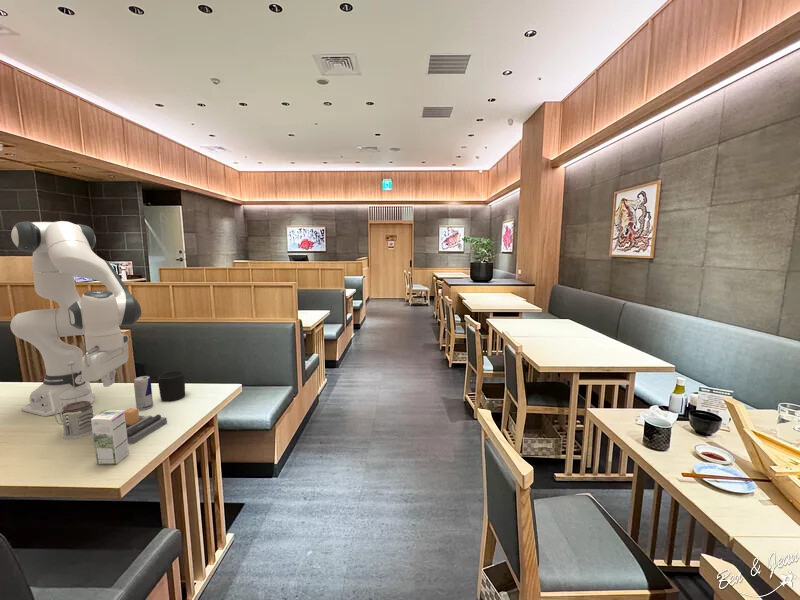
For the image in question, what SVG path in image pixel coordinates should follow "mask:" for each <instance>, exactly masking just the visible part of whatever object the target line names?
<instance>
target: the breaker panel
mask: <svg viewBox="0 0 800 600" xmlns="http://www.w3.org/2000/svg"><path fill="white" fill-rule="evenodd" d="M167 420H168V419H167V417H164V416H163V417H162V416H161V414H160V413H159V414H156V415H154V416H153V415H139V422H137V423H135V424H134V425H132V426H130V427H126V431H127V440H128V444H130V445H131V444H132V445H133V444H136V443H137V442H139V441H141V440H142V439H144V438H145V437H147V436H148V435H150V434H151V433H154V432H155V431H156V430H159V428H162V427H163V426H164V425H166V424H168V421H167Z"/></svg>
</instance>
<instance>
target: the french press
mask: <svg viewBox="0 0 800 600" xmlns="http://www.w3.org/2000/svg"><path fill="white" fill-rule="evenodd" d="M72 365H75V362H73V361H72V362H68V364H67V366H71V370H72ZM72 378H73V371H72ZM73 385H74V379H73ZM91 390H92V389H91ZM91 390H89V389H84V388H76V389H75V386H74V389H72V390H69V391H66V392H64V393H63V394H61V395H60V396H59V397H58V398H59V399H61V400H71V399H75V401H76V398H80V397H83V396H86V395H88V394H89V393H90V392H91ZM90 403H91V402H89V401H80V402H75V403H71V404H68V403H66V404H67V405H66V404H65V405H64V406H63V403H61V404H62V406H63V407H62V409H63V410H64V411H63V412H62V409H61V411H60V413H59V419H60V421H61V423H60V422H59V421H58V420H57V419H58V418H57V414H56V412H57V409H58V407H59V406H60V405H61V404H60V405H59V406H58V407H57V409H56V412H55V414H54V417H55V421H56V423H57V424H59V425H61V426H62V428H63V433H62V434H61V435H60V439H62V440H65V441H66V440H67V441H69V440H77V439H80V438H81V439H82V438H84V437H87V436H90V435H93V431H92V424H91V419H92V418H93V417H94V410H93V409H94V408H93V406H92V403H91V404H90ZM61 412H62V413H61ZM67 413H70V414H67ZM71 413H74V414H71Z"/></svg>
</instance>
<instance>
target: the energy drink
mask: <svg viewBox="0 0 800 600" xmlns="http://www.w3.org/2000/svg"><path fill="white" fill-rule="evenodd" d="M133 388H134V397H135V398H134V399H135V405H136V406H135V409H138V411H144V410H148V409H151V408H152V407H153V406H154V401H153V390H152V380H151V377H150V376H149V375H142V376H139V377H135V378H134V379H133Z"/></svg>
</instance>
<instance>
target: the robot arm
mask: <svg viewBox="0 0 800 600" xmlns="http://www.w3.org/2000/svg"><path fill="white" fill-rule="evenodd" d="M10 235H11V237H10V238H11V240H12V242H13V244H14V246H15V247H16V248H17V249H19V250H20V251H23V252H26V253H27V252H28V253H32V260H31V261H32V263H31V267H32V276H33V277H32V278H33V286H34V292H35V293H36V294H37V295H38V296H39V297H41V298H43V299H46V300H50V301H52V302H53V301H54V302H56V303H57V304H58V306H59V307H58V308H46V309H45V308H44V309H35V310H33V309H32V310H28V311H25V312H19V313H16V314H15V315H14V317H12V319H11V321H10V330H11V332H12V334H13V335H14V336H15V337H16V338H18V339H21V340H22V341H25V342H27V343H29V344H31V345H32V346H34V347H35V348H36V349H37V350H38V351H39V353H40V354H41V357H42V359H43V363H44V368H45V374H42V375H41V378H40V379H42V380H43V381H42V384H40V385H39V386H38V387H37V388H36V389H34V390H33V391H32V392H31V393H30V395H29V403H28V404H25V405H23V407H22V408H21V411H22V412H26V413H30V414H33V415H37V416H38V415H39V416H42V417H50V416H53V415H55V412H56V409H57V407H58V406H59V405H60V404H61V403H63V406H64V405H65V404H66V403H68V404H71V403H75V402H80V401H89V402H91V403H90V405H92V404H93V402H95V399H94V398H95V397H96V396H95V393H93V391H92V387H91V383H90V382H98V381H99V380H101V382H102V385H103V387H104V388H108V387H111V386H112V385H114V384H115V377H116V373H117V371H116V370H117V369H118V368H120V367H121V366H122V365H125V364H126V363H127V362H128V360H129V357H130V356H129V343H128V342H129V340H130V339H129V335H128V334H123V333H122V330H121V328H120V327H121V326H133V325H134V324H135V323H136V322H137V321H138V320H139V319H140V318H141V317H142V307H141V305H140V303H139V301H138V299H136V298H135V296H133V294H131V292H130V291H129V289H128V288H127V287H126V285H125V282H123V280H122V279H121V277H120V275H119V274H118V273H117V271H116V270H115V269H114V267H113V265H111V263H110V262H109V261H107V260H105V259H103V258H101V257H100V256H98V255H97V253H95V252H94V251H93V249H94V248H95V246H96V242H97V240H96V235H95V233H94V230H93V228H91V226H88V225H84V224H81V223H77V224H75V223H73V222H70V221H65V220H60V221H59V220H58V221H53V222H52V221H33V222H32V221H20V222H17V223H15V224H13V227H12V230H11V233H10ZM75 277H78V278H79V277H80V278H84V279H85V278H86V279H91V280H95V281H97V282H100V283H101V284H102V285H104V286H105V287H106V290H103V289H102V290H101V289H100V290H99V289H98V290H96V289H95V290H89V291H85V292H84V293H83V294H82V295H81V296H80V294H79V293H78V291H77V286H76V282H75V281H76V280H75ZM82 335H84V343H85V350H86V351H85V355H84V352H83V350H82V349H81V348H80V347H78V346H76V345H74V344H69V343H66V342H65V341H63V340H62V339H61V338H62V337H63V338H64V337H73V336H75V337H76V336H82ZM72 361H73V362H75V365H72V370H71V366H67V364H68V362H72ZM72 371H73V378H72ZM73 379H74V385H73ZM74 386H75V389H76V388H84V389H89V390H91V392H90V393H89V394H88V395H86V396H83V397H80V398H76V401H75V399H71V400H61V399H59V398H58V397H59V396H60V395H61V394H63V393H64V392H66V391H69V390H72V389H74ZM66 405H67V404H66ZM63 406H62V404H61V405H60V406H59V407H58V409H57V412H56V415H57V414H60V411H61V409H62V407H63ZM63 411H64V410H63V409H62V412H63ZM62 412H61V414H62Z"/></svg>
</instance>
